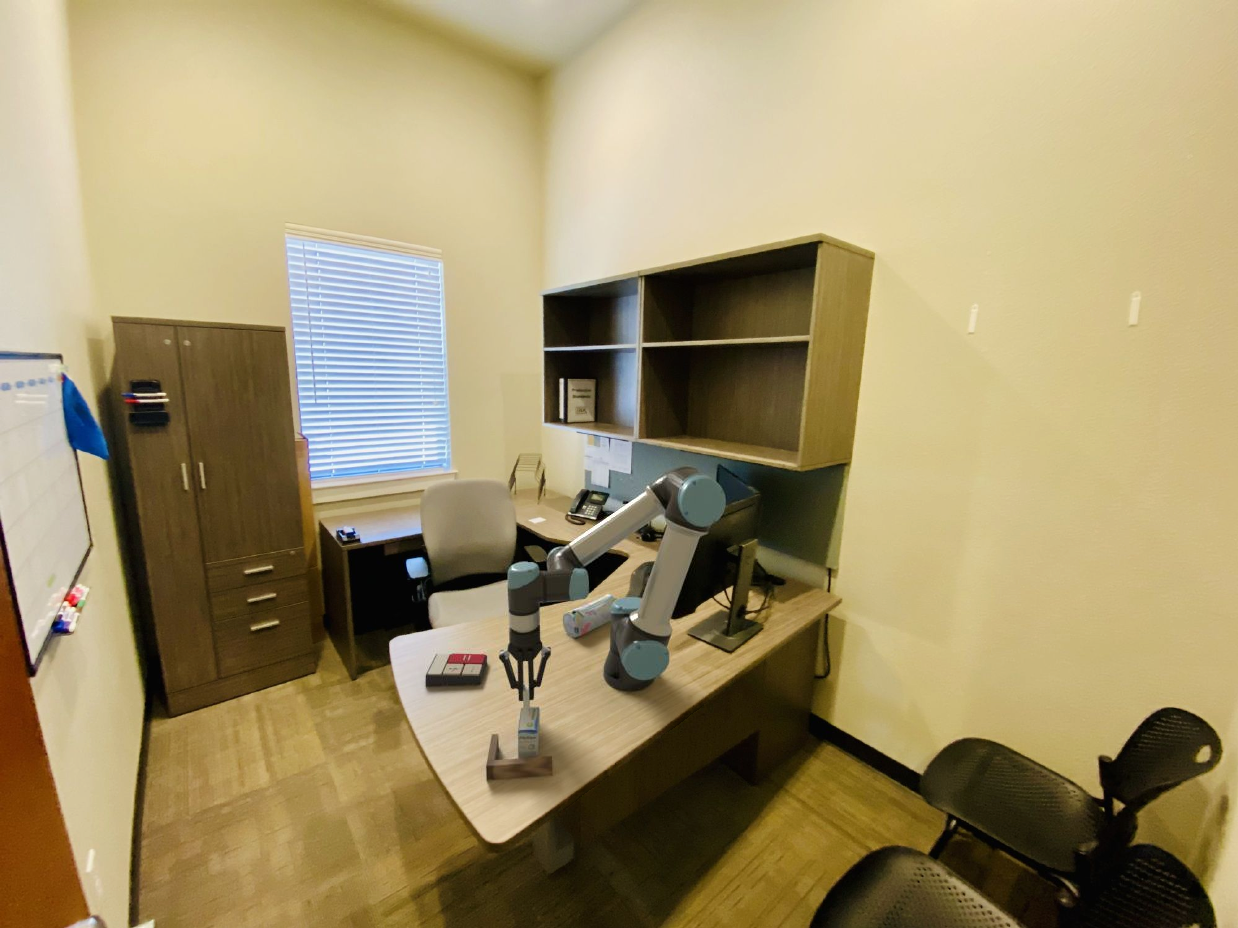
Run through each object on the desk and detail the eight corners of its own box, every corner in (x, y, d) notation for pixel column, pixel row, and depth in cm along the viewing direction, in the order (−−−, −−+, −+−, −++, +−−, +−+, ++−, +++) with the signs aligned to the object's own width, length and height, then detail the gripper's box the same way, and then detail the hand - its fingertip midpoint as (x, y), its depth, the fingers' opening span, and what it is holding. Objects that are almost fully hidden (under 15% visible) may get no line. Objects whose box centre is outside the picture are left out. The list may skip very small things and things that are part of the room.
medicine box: (521, 739, 118) (520, 706, 116) (539, 738, 118) (539, 705, 116) (517, 764, 110) (517, 730, 108) (538, 763, 110) (537, 729, 109)
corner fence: (552, 743, 116) (552, 729, 116) (552, 775, 107) (552, 761, 107) (492, 747, 115) (491, 734, 114) (486, 780, 105) (486, 765, 105)
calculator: (480, 674, 137) (425, 673, 135) (480, 688, 138) (424, 687, 136) (487, 652, 148) (436, 651, 146) (487, 665, 148) (436, 664, 147)
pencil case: (576, 642, 160) (576, 615, 159) (559, 632, 166) (559, 606, 165) (621, 621, 175) (622, 596, 173) (604, 612, 181) (605, 588, 179)
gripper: (551, 616, 125) (552, 699, 129) (499, 619, 123) (502, 703, 128) (551, 631, 118) (552, 718, 122) (495, 634, 116) (499, 723, 120)
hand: (526, 710), depth 125 cm, fingers closed
